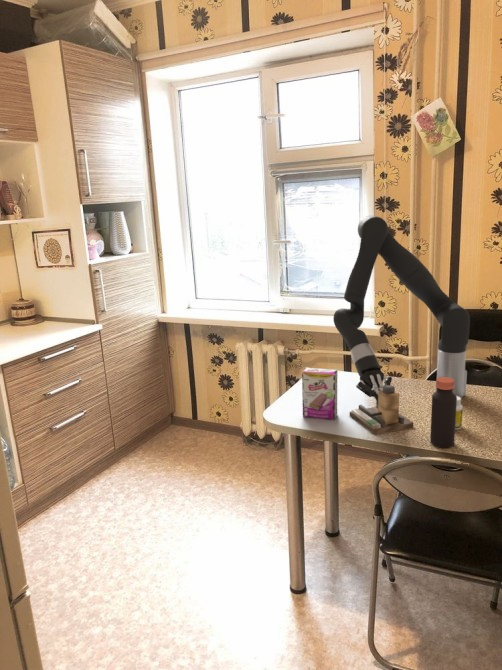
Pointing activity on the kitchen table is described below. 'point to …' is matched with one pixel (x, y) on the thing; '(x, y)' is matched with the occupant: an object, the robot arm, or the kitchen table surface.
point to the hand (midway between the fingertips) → (384, 406)
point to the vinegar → (443, 414)
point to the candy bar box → (319, 393)
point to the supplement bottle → (458, 414)
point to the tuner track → (378, 420)
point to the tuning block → (388, 405)
